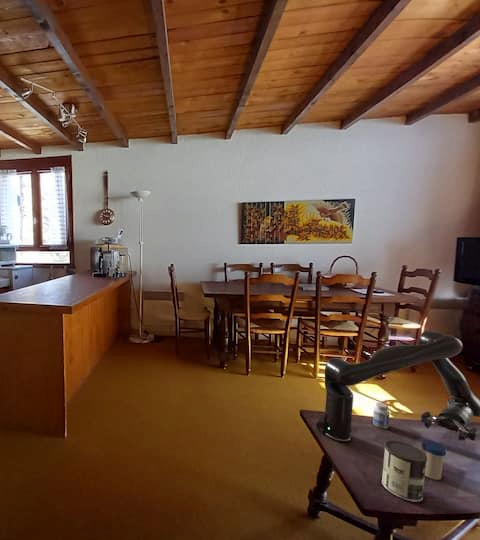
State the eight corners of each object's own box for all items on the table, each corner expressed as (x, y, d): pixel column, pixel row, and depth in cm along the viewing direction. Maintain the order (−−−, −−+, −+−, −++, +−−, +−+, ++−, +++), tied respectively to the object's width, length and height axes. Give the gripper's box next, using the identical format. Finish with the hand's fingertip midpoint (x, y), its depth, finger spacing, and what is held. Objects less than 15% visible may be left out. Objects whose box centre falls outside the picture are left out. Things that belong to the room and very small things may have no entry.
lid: (447, 452, 107) (447, 447, 106) (442, 458, 103) (443, 453, 103) (424, 443, 111) (425, 438, 111) (419, 448, 108) (420, 443, 108)
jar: (423, 476, 107) (426, 448, 106) (417, 466, 112) (419, 439, 111) (444, 482, 105) (447, 453, 104) (436, 471, 110) (439, 444, 109)
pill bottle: (382, 422, 139) (384, 402, 138) (391, 429, 134) (393, 408, 133) (369, 421, 140) (371, 401, 139) (378, 428, 135) (380, 407, 134)
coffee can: (417, 485, 103) (421, 446, 102) (427, 507, 95) (432, 465, 93) (378, 472, 109) (381, 436, 107) (384, 493, 100) (388, 453, 99)
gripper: (481, 436, 115) (470, 452, 107) (429, 418, 127) (416, 430, 119) (483, 418, 115) (472, 432, 106) (430, 401, 127) (417, 412, 118)
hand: (442, 431), depth 113 cm, fingers open, 8 cm apart
